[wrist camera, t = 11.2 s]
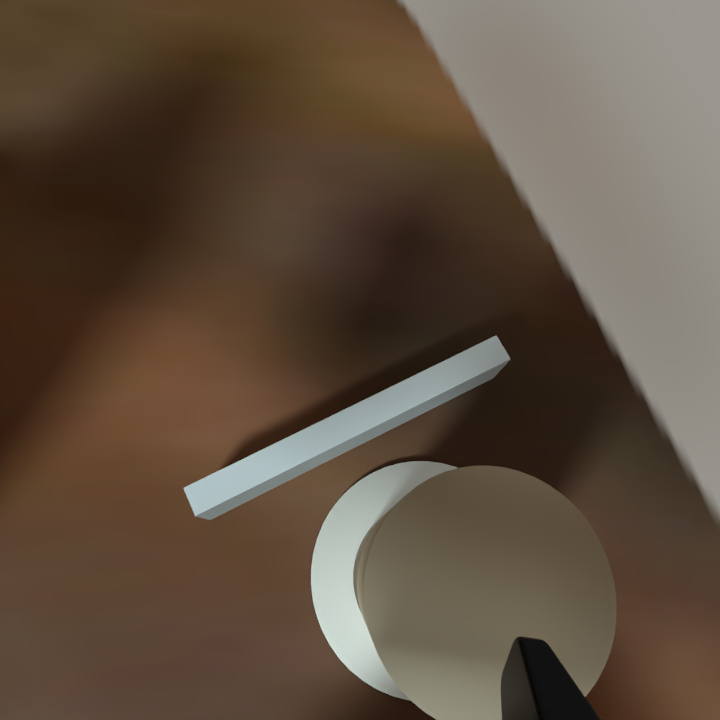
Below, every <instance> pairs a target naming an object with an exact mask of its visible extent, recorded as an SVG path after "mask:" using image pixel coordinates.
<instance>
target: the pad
mask: <svg viewBox="0 0 720 720" xmlns="http://www.w3.org/2000/svg"><path fill="white" fill-rule="evenodd" d="M453 469H457V467H455V466H451V465H447V464H443V463H437V462H429V461H411V462H404V463H398V464H395V465H391V466H387V467H384V468H382V469H380V470H377V471H375V472H373V473H371V474H369V475H368V476H366V477H364V478H363V479H361V480H360V481H358V482H357V483H356V484H355V485H353V486H352V487H351V488H350V489H348V491H347V492H346V493H345V494H344V495H343V496H342V497H341V498H340V499H339V500H338V501H337V503H336V504H335V505H334V507H333V508H332V509H331V511H330V512H329V514H328V516H327V518H326V520H325V521H324V523H323V525H322V528H321V530H320V533H319V535H318V538H317V541H316V545H315V549H314V552H313V559H312V566H311V589H312V597H313V603H314V607H315V611H316V616H317V618H318V621H319V624H320V626H321V629H322V631H323V633H324V635H325V637H326V639H327V641H328V643H329V645H330V646H331V648H332V649H333V650H334V652H335V653H336V655H337V656H338V658H339V659H340V660H341V661H342V662H343V663H344V664H345V665H346V666H347V668H348V669H349V670H350V671H351V672H353V673H354V674H355V675H356V676H358V677H359V678H360V679H361V680H362V681H364V682H365V683H367V684H369V685H370V686H372V687H374V688H375V689H377V690H379V691H381V692H384V693H386V694H388V695H391V696H394V697H397V698H401V699H405V700H410V699H409V698H408V697H407V696H406V695H405V694H404V693H403V692H402V691H401V690H400V689H399V688H398V686H397V685H396V684H395V682H394V681H393V679H392V678H391V677H390V675H389V674H388V672H387V671H386V669H385V667H384V665H383V663H382V661H381V660H380V658H379V656H378V653H377V651H376V649H375V646H374V644H373V641H372V639H371V636H370V634H369V631H368V629H367V626H366V624H365V621H364V619H363V616H362V614H361V611H360V609H359V606H358V604H357V601H356V597H355V593H354V586H353V569H354V562H355V558H356V554H357V551H358V549H359V546H360V544H361V542H362V540H363V538H364V537H365V535H366V534H367V532H368V531H369V530H370V528H371V527H372V526H373V525H374V524H375V523H376V522H377V521H378V520H379V519H380V518H381V517H382V516H384V515H385V514H386V513H387V512H388V511H389V510H390V509H391V508H392V507H393V506H394V505H395V504H397V503H398V502H399V501H400V500H401V499H402V498H403V497H404V496H405V495H407V494H408V493H409V492H410V491H411V490H413V489H414V488H415V487H416V486H418V485H420V484H421V483H423V482H424V481H426V480H428V479H429V478H431V477H434V476H436V475H438V474H441V473H443V472H446V471H449V470H453Z"/></svg>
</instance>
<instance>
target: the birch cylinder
mask: <svg viewBox="0 0 720 720" xmlns="http://www.w3.org/2000/svg"><path fill="white" fill-rule="evenodd" d="M353 586H354V593H355V597H356V601H357V604H358V606H359V609H360V611H361V614H362V616H363V619H364V621H365V624H366V626H367V629H368V631H369V634H370V636H371V639H372V641H373V644H374V646H375V649H376V651H377V653H378V656H379V658H380V660H381V661H382V663H383V665H384V667H385V669H386V671H387V672H388V674H389V675H390V677H391V678H392V679H393V681H394V682H395V684H396V685H397V686H398V688H399V689H400V690H401V691H402V692H403V693H404V694H405V695H406V696H407V697H408V698H409V699H410V700H411V701H412V702H413V703H414V704H415V705H417V706H418V707H419V708H420V709H421V710H423V711H424V712H425V713H427V714H428V715H430V716H431V717H433V718H435V719H436V720H502V711H501V677H502V672H503V669H504V666H505V664H506V661H507V658H508V655H509V652H510V650H511V647H512V644H513V642H514V640H515V639H516V638H517V637H519V636H523V637H529V638H536V639H541V640H544V641H545V642H546V643H548V645H549V646H550V647H551V649H552V650H553V652H554V653H555V654H556V656H557V657H558V659H559V660H560V662H561V663H562V665H563V666H564V667H565V669H566V670H567V672H568V673H569V675H570V676H571V678H572V679H573V680H574V682H575V683H576V685H577V686H578V688H579V689H580V691H581V692H582V693H583V695H584V696H585V697H586V696H587V694H588V693H589V692H590V690H591V689H592V688H593V686H594V685H595V684H596V682H597V680H598V678H599V677H600V675H601V673H602V671H603V670H604V667H605V665H606V662H607V660H608V657H609V655H610V652H611V648H612V644H613V640H614V636H615V628H616V620H617V599H616V591H615V583H614V579H613V575H612V571H611V567H610V564H609V561H608V558H607V556H606V553H605V550H604V548H603V546H602V544H601V542H600V540H599V538H598V536H597V535H596V533H595V531H594V530H593V528H592V527H591V525H590V524H589V522H588V521H587V519H586V518H585V517H584V516H583V515H582V514H581V512H580V511H579V510H578V509H577V508H576V507H575V506H574V505H573V504H572V503H571V502H570V501H569V500H568V499H567V498H566V497H565V496H564V495H562V494H561V493H560V492H558V491H557V490H555V489H554V488H553V487H551V486H550V485H548V484H546V483H545V482H543V481H541V480H539V479H537V478H535V477H533V476H531V475H528V474H526V473H523V472H520V471H517V470H513V469H509V468H505V467H497V466H468V467H461V468H457V469H453V470H449V471H446V472H443V473H441V474H438V475H436V476H434V477H431V478H429V479H428V480H426V481H424V482H423V483H421V484H420V485H418V486H416V487H415V488H414V489H413V490H411V491H410V492H409V493H408V494H407V495H405V496H404V497H403V498H402V499H401V500H400V501H399V502H398V503H397V504H395V505H394V506H393V507H392V508H391V509H390V510H389V511H388V512H387V513H386V514H385V515H384V516H382V517H381V518H380V519H379V520H378V521H377V522H376V523H375V524H374V525H373V526H372V527H371V528H370V530H369V531H368V532H367V534H366V535H365V537H364V538H363V540H362V542H361V544H360V546H359V549H358V551H357V554H356V558H355V562H354V569H353Z"/></svg>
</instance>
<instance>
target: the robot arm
mask: <svg viewBox="0 0 720 720" xmlns="http://www.w3.org/2000/svg"><path fill="white" fill-rule="evenodd" d="M501 711H502V720H600V718H599V717H598V715H597V714H596V712H595V711H594V709H593V708H592V706H591V705H590V704H589V702H588V701H587V699H586V698H585V696H584V695H583V693H582V692H581V691H580V689H579V688H578V686H577V685H576V683H575V682H574V680H573V679H572V678H571V676H570V675H569V673H568V672H567V670H566V669H565V667H564V666H563V665H562V663H561V662H560V660H559V659H558V657H557V656H556V654H555V653H554V652H553V650H552V649H551V647H550V646H549V645H548V643H546V642H545V641H544V640H541V639H536V638H529V637H523V636H519V637H517V638H516V639H515V640H514V642H513V644H512V647H511V650H510V652H509V655H508V658H507V661H506V664H505V666H504V669H503V672H502V677H501Z"/></svg>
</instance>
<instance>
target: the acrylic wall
mask: <svg viewBox="0 0 720 720" xmlns="http://www.w3.org/2000/svg"><path fill="white" fill-rule="evenodd" d="M509 360H510V357H509V355H508V354H507V352H506V350H505V349H504V347H503V345H502V344H501V342H500V340H499V339H498V337H497V335H496V336H494V337H492V338H490V339H488V340H486V341H484V342H481V343H479V344H477V345H475V346H473V347H471V348H469V349H467V350H465V351H463V352H461V353H459V354H457V355H455V356H453V357H451V358H449V359H447V360H445V361H443V362H441V363H438V364H436V365H434V366H432V367H430V368H428V369H426V370H424V371H422V372H420V373H418V374H416V375H414V376H412V377H410V378H408V379H406V380H404V381H402V382H400V383H397V384H395V385H393V386H391V387H389V388H387V389H385V390H383V391H381V392H379V393H377V394H375V395H373V396H371V397H369V398H367V399H365V400H363V401H361V402H359V403H357V404H354V405H352V406H350V407H348V408H346V409H344V410H342V411H340V412H338V413H336V414H334V415H332V416H330V417H328V418H326V419H324V420H322V421H320V422H318V423H316V424H313V425H311V426H309V427H307V428H305V429H303V430H301V431H299V432H297V433H295V434H293V435H291V436H289V437H287V438H285V439H283V440H281V441H279V442H277V443H275V444H273V445H270V446H268V447H266V448H264V449H262V450H260V451H258V452H256V453H254V454H252V455H250V456H248V457H246V458H244V459H242V460H240V461H238V462H236V463H234V464H232V465H229V466H227V467H225V468H223V469H221V470H219V471H217V472H215V473H213V474H211V475H209V476H207V477H205V478H203V479H201V480H199V481H197V482H195V483H193V484H191V485H189V486H186V487H184V491H185V493H186V495H187V498H188V500H189V502H190V505H191V507H192V510H193V512H194V514H195V516H197V517H201V518H204V519H208V520H212V519H214V518H216V517H218V516H220V515H222V514H224V513H226V512H228V511H229V510H231V509H233V508H235V507H237V506H239V505H241V504H243V503H245V502H247V501H249V500H251V499H253V498H255V497H257V496H259V495H261V494H263V493H265V492H267V491H269V490H271V489H273V488H275V487H277V486H279V485H281V484H283V483H285V482H287V481H289V480H291V479H293V478H295V477H297V476H299V475H301V474H303V473H305V472H307V471H309V470H311V469H313V468H315V467H317V466H319V465H321V464H323V463H325V462H327V461H329V460H331V459H333V458H335V457H337V456H339V455H341V454H343V453H345V452H347V451H349V450H351V449H353V448H355V447H357V446H359V445H361V444H363V443H365V442H367V441H369V440H371V439H373V438H375V437H377V436H379V435H381V434H383V433H385V432H387V431H389V430H391V429H393V428H395V427H397V426H399V425H401V424H403V423H405V422H407V421H409V420H411V419H413V418H415V417H417V416H419V415H421V414H423V413H425V412H427V411H429V410H431V409H433V408H435V407H437V406H439V405H441V404H443V403H445V402H447V401H449V400H451V399H453V398H455V397H457V396H459V395H461V394H463V393H465V392H467V391H469V390H471V389H473V388H475V387H477V386H479V385H481V384H483V383H485V382H487V381H489V380H491V379H493V378H494V377H495V376H496V375H497V374H498V373H499V372H500V370H501V369H502V368H503V367H504V366H505V365H506V364H507V363H508V361H509Z"/></svg>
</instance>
